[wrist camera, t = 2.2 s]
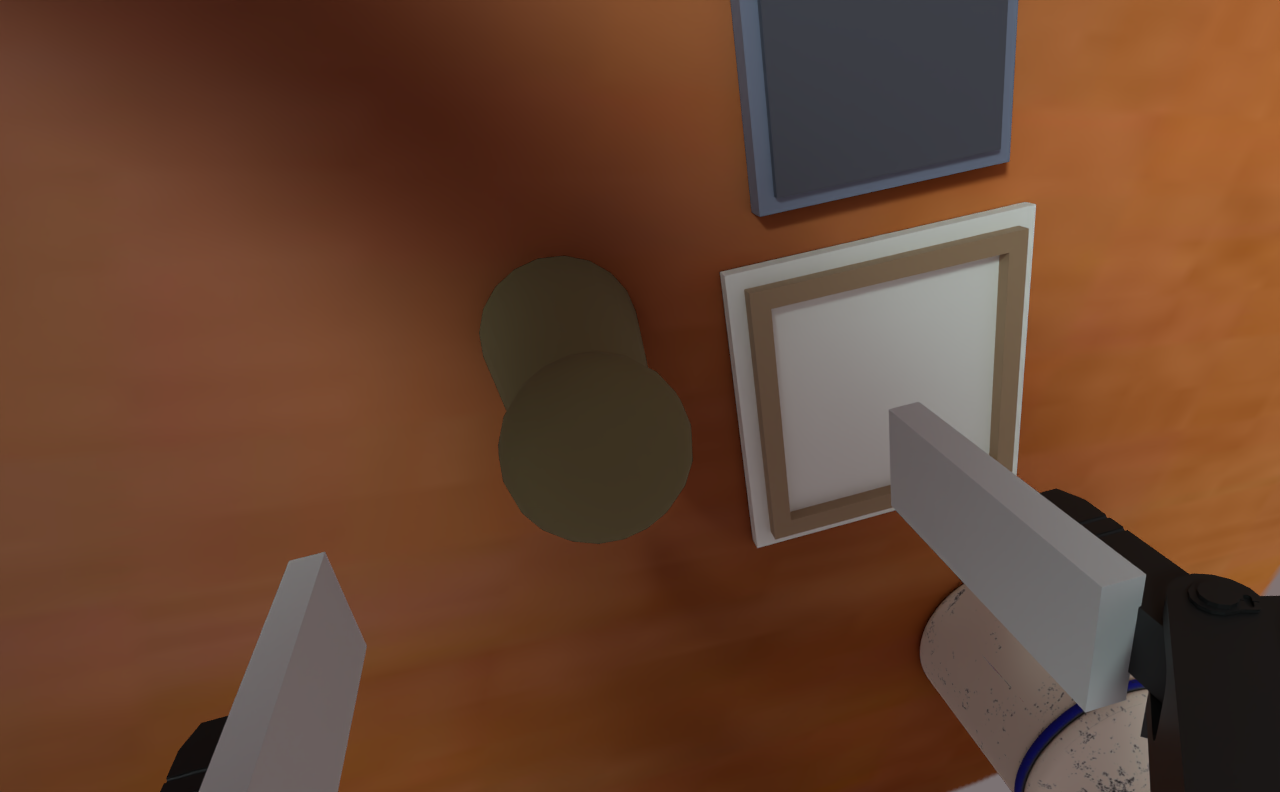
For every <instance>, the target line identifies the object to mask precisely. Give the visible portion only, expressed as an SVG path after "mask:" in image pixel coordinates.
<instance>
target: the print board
mask: <svg viewBox="0 0 1280 792" xmlns="http://www.w3.org/2000/svg"><path fill="white" fill-rule="evenodd" d="M1035 212H1036V204H1032V203H1028V202H1023V203H1019V204H1014V205H1010V206H1006V207H1001V208H997V209H993V210H988V211H984V212H979V213H975V214H971V215H966V216H962V217H958V218H953V219H949V220H945V221H940V222H936V223H931V224H927V225H923V226H918V227H914V228H910V229H905V230H901V231H897V232H892V233H888V234H883V235H879V236H875V237H870V238H866V239H862V240H857V241H853V242H848V243H844V244H840V245H835V246H831V247H827V248H822V249H818V250H814V251H809V252H805V253H800V254H796V255H792V256H787V257H783V258H779V259H774V260H770V261H766V262H761V263H757V264H752V265H748V266H744V267H739V268H735V269H731V270H726V271H722V272H720V278H721V286H722V294H723V302H724V310H725V318H726V326H727V334H728V343H729V351H730V359H731V367H732V375H733V383H734V391H735V399H736V407H737V415H738V424H739V432H740V440H741V448H742V456H743V464H744V472H745V480H746V488H747V497H748V505H749V513H750V521H751V529H752V537H753V541H754V543H755V545H756V547H757V548H760V547H763V546H767V545H771V544H774V543H778V542H782V541H785V540H789V539H793V538H796V537H800V536H803V535H807V534H811V533H814V532H818V531H822V530H825V529H829V528H833V527H836V526H840V525H844V524H847V523H851V522H854V521H858V520H862V519H865V518H869V517H873V516H876V515H880V514H884V513H887V512H891V511H895V509H894V508H893V507H892V506H891V480H890V441H889V409H892V408H896V407H900V406H903V405H907V404H911V403H915V402H920V403H921V404H923V405H924V406H925V407H927V408H928V409H929V410H931V411H932V412H933V413H934V414H936V415H937V416H938V417H940V418H941V419H942V420H944V421H945V422H946V423H948V424H949V425H950V426H952V427H953V428H954V429H956V430H957V431H958V432H959V433H961V434H962V435H963V436H965V437H966V438H967V439H969V440H970V441H971V442H973V443H974V444H975V445H977V446H978V447H979V448H981V449H982V450H983V451H984V452H986V453H987V454H988V455H990V456H991V457H992V458H994V459H995V460H996V461H998V462H999V463H1000V464H1002V465H1003V466H1004V467H1006V468H1007V469H1008V470H1009V471H1011V472H1012V473H1013V474H1015V475H1016V476H1017V462H1018V448H1019V434H1020V420H1021V406H1022V393H1023V379H1024V365H1025V351H1026V337H1027V323H1028V309H1029V295H1030V281H1031V267H1032V253H1033V240H1034V226H1035Z"/></svg>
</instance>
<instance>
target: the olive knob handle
mask: <svg viewBox="0 0 1280 792" xmlns="http://www.w3.org/2000/svg"><path fill="white" fill-rule="evenodd" d="M479 334H480V340H481V346H482V352H483V357H484V359H485V361H486V364H487V366H488V369H489V371H490V373H491V376H492V378H493V380H494V383H495V385H496V387H497V390H498V392H499V394H500V397H501V399H502V401H503V404H504V406H505V408H506V411H507V412H506V414H505V415H504V418H503V423H502V428H501V433H500V438H499V444H498V448H499V459H500V465H501V471H502V477H503V482H504V484H505V485H506V487H507V489H508V490H509V492H510V494H511V495H512V497H513V499H514V501H515V502H516V504H517V506H518V507H519V509H520V510H521V512H522V513H523V514H524V515H525V516H526V517H527V518H529V519H530V520H531V521H532V522H533V523H535V524H536V525H537V526H538V527H540V528H541V529H542V530H544V531H547V532H549V533H552V534H554V535H557V536H559V537H562V538H564V539H567V540H570V541H573V542H584V543H596V544H600V543H606V542H611V541H617V540H622V539H625V538H628V537H630V536H632V535H634V534H636V533H638V532H641V531H643V530H645V529H647V528H648V527H650V526H651V525H652V524H653V523H654V522H656V521H657V520H658V519H659V518H660V517H662V516H663V515H664V514H665V513H666V512H667V511H668V510H669V508H670V507H671V505H672V504H673V502H674V501H675V500H676V498H677V497H678V495H679V494H680V492H681V491H682V489H683V488H684V486H685V484H686V481H687V478H688V474H689V471H690V468H691V464H692V461H693V458H692V434H691V424H690V421H689V419H688V417H687V414H686V412H685V410H684V407H683V405H682V402H681V400H680V399H679V397H678V395H677V394H676V392H675V391H674V390H673V389H672V388H671V387H670V386H669V385H668V384H667V383H666V381H665V380H664V379H663V378H662V377H661V376H660V375H659V374H658V373H657V372H656V371H654V370H652V369H650V368H648V365H647V361H646V356H645V351H644V347H643V342H642V338H641V333H640V328H639V324H638V319H637V315H636V311H635V309H634V306H633V304H632V302H631V299H630V297H629V295H628V292H627V290H626V289H625V288H624V287H623V286H622V285H621V284H620V283H619V281H618V280H617V279H616V278H615V277H614V276H613V275H612V274H611V273H610V272H608V271H607V270H605V269H603V268H601V267H599V266H598V265H596V264H594V263H592V262H591V261H588V260H583V259H578V258H573V257H568V256H557V257H549V258H540V259H536V260H534V261H532V262H530V263H528V264H525V265H523V266H521V267H519V268H517V269H514V270H513V271H512V272H511V273H510V274H509V275H508V276H507V277H506V278H505V279H504V280H502V281H501V282H500V283H499V284H498V285H497V286H496V287H495V289H494V290H493V292H492V294H491V296H490V298H489V300H488V301H487V303H486V305H485V307H484V309H483V314H482V320H481V326H480V331H479Z"/></svg>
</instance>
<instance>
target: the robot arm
mask: <svg viewBox="0 0 1280 792" xmlns="http://www.w3.org/2000/svg"><path fill="white" fill-rule="evenodd" d="M889 441H890V480H891V506H892V507H893V508H894V509H895V510H896V511H897V512H898V513H899V514H900V516H901V517H902V518H903V519H904V520H905V521H906V522H907V523H908V524H909V525H910V526H911V527H912V528H913V529H914V530H915V531H916V533H917V534H918V535H919V536H920V537H921V538H922V539H923V540H924V541H925V542H926V543H927V544H928V545H929V546H930V547H931V549H932V550H933V551H934V552H935V553H936V554H937V555H938V556H939V557H940V558H941V559H942V560H943V561H944V562H945V563H946V565H947V566H948V567H949V568H950V569H951V570H952V571H953V572H954V573H955V574H956V575H957V576H958V577H959V578H960V579H961V581H962V582H963V583H964V584H965V585H966V586H967V587H968V588H969V589H970V590H971V591H972V592H973V593H974V594H975V595H976V597H977V598H978V599H979V600H980V601H981V602H982V603H983V604H984V605H985V606H986V607H987V608H988V609H989V610H990V611H991V612H992V614H993V615H994V616H995V617H996V618H997V619H998V620H999V621H1000V622H1001V623H1002V624H1003V625H1004V626H1005V627H1006V628H1007V630H1008V631H1009V632H1010V633H1011V634H1012V635H1013V636H1014V637H1015V638H1016V639H1017V640H1018V641H1019V642H1020V643H1021V644H1022V646H1023V647H1024V648H1025V649H1026V650H1027V651H1028V652H1029V653H1030V654H1031V655H1032V656H1033V657H1034V658H1035V659H1036V660H1037V662H1038V663H1039V664H1040V665H1041V666H1042V667H1043V668H1044V669H1045V670H1046V671H1047V672H1048V673H1049V674H1050V675H1051V676H1052V677H1053V679H1054V680H1055V681H1056V682H1057V683H1058V684H1059V685H1060V686H1061V687H1062V688H1063V689H1064V690H1065V691H1066V692H1067V693H1068V695H1069V696H1070V697H1071V698H1072V699H1073V700H1074V701H1075V702H1076V703H1077V704H1078V705H1079V706H1080V707H1081V708H1082V709H1083V711H1084V712H1085V713H1086V712H1089V711H1092V710H1095V709H1099V708H1102V707H1105V706H1108V705H1112V704H1115V703H1118V702H1121V701H1125V700H1126V695H1127V689H1128V683H1129V677H1130V674H1131V675H1132V676H1133V677H1134V678H1135V679H1136V680H1137V681H1138V682H1139V683H1140V684H1142V685H1143V686H1144V687H1145V688H1146V689H1147V690H1148V697H1147V702H1146V708H1145V713H1144V719H1143V724H1142V730H1141V735H1140V737H1144V738H1147V739H1148V754H1149V774H1150V792H1280V596H1259V595H1258V594H1256V593H1255V592H1254V591H1253V590H1251V589H1250V588H1248V587H1246V586H1244V585H1242V584H1240V583H1238V582H1236V581H1233V580H1231V579H1227V578H1223V577H1219V576H1215V575H1209V574H1188V573H1187V572H1185V571H1184V570H1183V569H1181V568H1180V567H1178V566H1177V565H1176V564H1174V563H1173V562H1171V561H1170V560H1169V559H1167V558H1166V557H1164V556H1163V555H1162V554H1160V553H1159V552H1157V551H1156V550H1155V549H1153V548H1152V547H1150V546H1149V545H1148V544H1146V543H1145V542H1143V541H1142V540H1141V539H1139V538H1138V537H1136V536H1135V535H1134V534H1132V533H1131V532H1129V531H1128V530H1126V531H1125V530H1124V529H1123V527H1122V526H1121V525H1120V524H1118V523H1117V522H1115V521H1114V520H1113V519H1111V518H1107V517H1106V514H1104V513H1103V512H1101V511H1100V510H1099V509H1097V508H1096V507H1094V506H1093V505H1092V504H1090V503H1089V502H1087V501H1086V500H1085V499H1082V498H1079V497H1077V496H1074V495H1072V494H1069V493H1067V492H1064V491H1061V490H1059V489H1053V490H1049V491H1045V492H1042V493H1038V492H1037V491H1036V490H1034V489H1033V488H1032V487H1031V486H1029V485H1028V484H1027V483H1025V482H1024V481H1023V480H1021V479H1020V478H1019V477H1017V476H1016V475H1015V474H1013V473H1012V472H1011V471H1009V470H1008V469H1007V468H1006V467H1004V466H1003V465H1002V464H1000V463H999V462H998V461H996V460H995V459H994V458H992V457H991V456H990V455H988V454H987V453H986V452H984V451H983V450H982V449H981V448H979V447H978V446H977V445H975V444H974V443H973V442H971V441H970V440H969V439H967V438H966V437H965V436H963V435H962V434H961V433H959V432H958V431H957V430H956V429H954V428H953V427H952V426H950V425H949V424H948V423H946V422H945V421H944V420H942V419H941V418H940V417H938V416H937V415H936V414H934V413H933V412H932V411H931V410H929V409H928V408H927V407H925V406H924V405H923V404H921V403H920V402H915V403H911V404H907V405H903V406H900V407H896V408H892V409H889ZM366 647H367V646H366V643H365V641H364V639H363V637H362V634H361V632H360V630H359V628H358V625H357V623H356V621H355V618H354V616H353V614H352V612H351V609H350V607H349V605H348V603H347V600H346V598H345V596H344V594H343V591H342V589H341V587H340V585H339V582H338V580H337V578H336V576H335V573H334V571H333V569H332V567H331V564H330V562H329V560H328V558H327V555H326V553H325V552H323V553H319V554H315V555H311V556H307V557H303V558H299V559H295V560H291V561H289V563H288V565H287V568H286V570H285V573H284V575H283V578H282V580H281V583H280V585H279V588H278V591H277V593H276V596H275V598H274V601H273V603H272V606H271V608H270V611H269V614H268V616H267V619H266V621H265V624H264V626H263V629H262V631H261V634H260V637H259V639H258V642H257V644H256V647H255V649H254V652H253V654H252V657H251V659H250V662H249V665H248V667H247V670H246V672H245V675H244V677H243V680H242V682H241V685H240V688H239V690H238V693H237V695H236V698H235V700H234V703H233V705H232V708H231V711H230V713H229V716H226V717H222V718H218V719H215V720H211V721H207V722H204V723H201V724H200V725H199V727H198V728H197V729H196V730H195V731H194V733H193V734H192V735H191V736H190V737H189V739H188V740H187V741H186V742H185V743H184V745H183V746H182V747H181V748H180V749H179V751H178V753H177V755H176V758H175V760H174V762H173V764H172V767H171V769H170V771H169V773H168V776H167V783H164V785H163V787H162V789H161V791H160V792H338V787H339V782H340V777H341V772H342V767H343V762H344V757H345V752H346V747H347V742H348V737H349V732H350V727H351V722H352V717H353V712H354V707H355V702H356V697H357V692H358V687H359V682H360V677H361V672H362V667H363V662H364V657H365V652H366Z"/></svg>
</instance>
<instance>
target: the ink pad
mask: <svg viewBox="0 0 1280 792" xmlns="http://www.w3.org/2000/svg"><path fill="white" fill-rule="evenodd" d="M730 1H731V11H732V21H733V31H734V41H735V51H736V61H737V71H738V81H739V91H740V101H741V111H742V121H743V131H744V141H745V151H746V161H747V171H748V181H749V191H750V201H751V211H752V213H754V214H756V215H757V216H759V217H762V216H766V215H771V214H775V213H780V212H784V211H789V210H793V209H798V208H802V207H807V206H811V205H816V204H820V203H825V202H829V201H834V200H838V199H843V198H847V197H852V196H856V195H861V194H865V193H870V192H874V191H879V190H883V189H888V188H892V187H897V186H901V185H906V184H910V183H915V182H919V181H924V180H928V179H933V178H937V177H942V176H946V175H951V174H955V173H960V172H964V171H969V170H973V169H978V168H982V167H987V166H992V165H996V164H1001V163H1005V162H1009V160H1010V142H1011V123H1012V105H1013V87H1014V68H1015V50H1016V32H1017V13H1018V0H730Z"/></svg>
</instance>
